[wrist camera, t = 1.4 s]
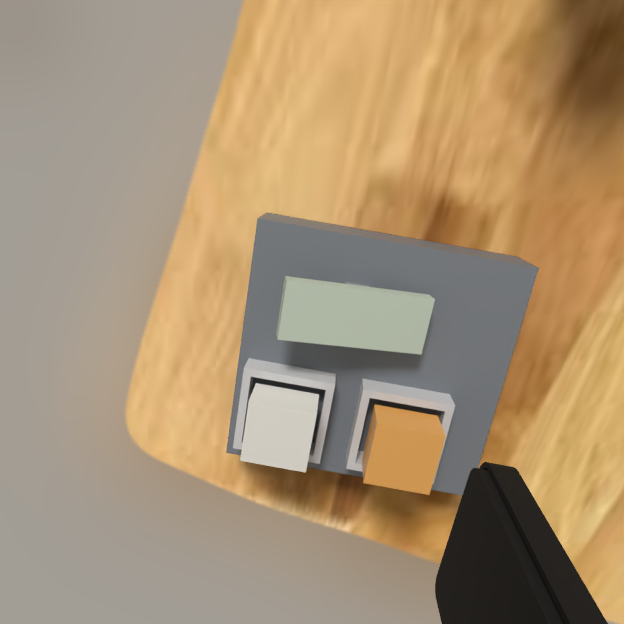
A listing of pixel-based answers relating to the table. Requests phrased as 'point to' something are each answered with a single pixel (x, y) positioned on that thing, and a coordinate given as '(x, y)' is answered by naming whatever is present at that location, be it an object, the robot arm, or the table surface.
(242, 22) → the table surface
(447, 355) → the switch panel
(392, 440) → the orange button
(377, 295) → the block
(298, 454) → the cream button
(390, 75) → the table surface
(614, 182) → the table surface
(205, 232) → the table surface
